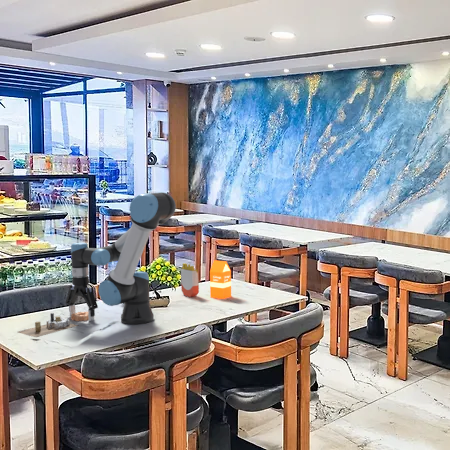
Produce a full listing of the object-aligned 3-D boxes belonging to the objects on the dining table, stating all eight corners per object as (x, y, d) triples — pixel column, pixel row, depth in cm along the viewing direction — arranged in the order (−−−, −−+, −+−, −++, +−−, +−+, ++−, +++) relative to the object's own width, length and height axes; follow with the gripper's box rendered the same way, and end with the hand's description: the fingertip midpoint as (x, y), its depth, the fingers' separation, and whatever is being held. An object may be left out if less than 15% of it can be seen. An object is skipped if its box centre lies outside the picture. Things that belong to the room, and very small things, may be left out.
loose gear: (97, 320, 269) (96, 313, 269) (80, 325, 262) (80, 317, 261) (84, 317, 275) (83, 310, 275) (67, 322, 268) (67, 314, 267)
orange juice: (218, 294, 322) (218, 259, 320) (231, 296, 316) (230, 260, 315) (210, 297, 315) (209, 261, 313) (223, 299, 310) (222, 262, 308)
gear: (73, 323, 259) (73, 311, 258) (62, 329, 250) (61, 317, 249) (54, 322, 261) (54, 310, 261) (42, 328, 252) (42, 316, 251)
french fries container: (188, 293, 326) (187, 262, 324) (199, 296, 317) (198, 264, 316) (181, 294, 323) (180, 263, 321) (192, 297, 314) (191, 265, 313)
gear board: (79, 328, 256) (78, 316, 255) (36, 340, 238) (35, 327, 238) (59, 324, 264) (59, 312, 264) (16, 335, 247) (16, 322, 246)
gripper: (56, 274, 271) (58, 318, 273) (91, 280, 256) (93, 326, 258) (70, 272, 277) (71, 315, 279) (104, 277, 262) (106, 323, 264)
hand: (82, 321), depth 269 cm, fingers open, 13 cm apart
